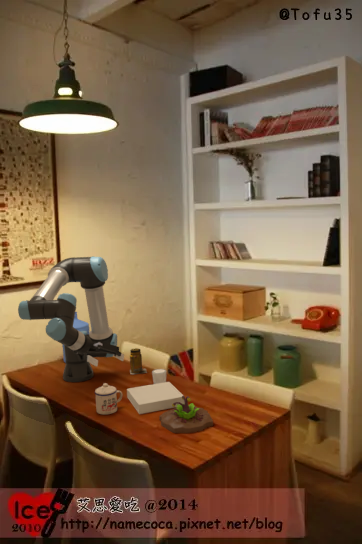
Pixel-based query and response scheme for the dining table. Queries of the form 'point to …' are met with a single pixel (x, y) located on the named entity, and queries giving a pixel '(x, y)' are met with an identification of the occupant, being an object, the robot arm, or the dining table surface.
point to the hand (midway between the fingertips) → (110, 360)
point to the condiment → (136, 362)
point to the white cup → (159, 376)
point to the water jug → (79, 326)
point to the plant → (186, 418)
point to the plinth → (154, 397)
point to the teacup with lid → (107, 399)
